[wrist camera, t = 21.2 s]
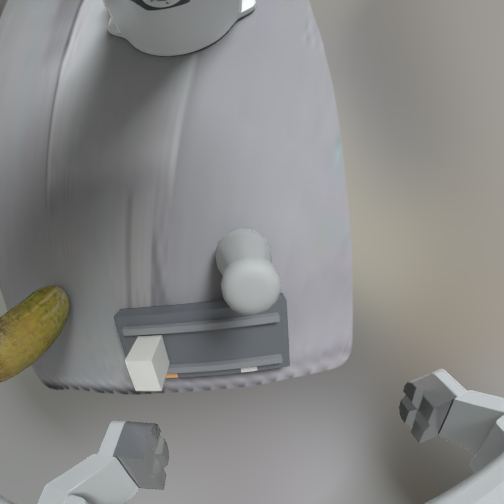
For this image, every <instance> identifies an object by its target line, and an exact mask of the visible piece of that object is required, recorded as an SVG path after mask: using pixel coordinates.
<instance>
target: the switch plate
mask: <svg viewBox="0 0 504 504" xmlns="http://www.w3.org/2000/svg"><path fill="white" fill-rule="evenodd" d="M114 319H115V322H116V326H117V329H118V332H119V336H120V339H121V342H122V345H123V348H124V351H125V354H126V357H127V356H128V354H129V352H130V350H131V348H132V346H133V345H134V343H135V341H136V339H137V337H138V336H152V335H162V337H163V341H164V345H165V348H166V352H167V356H168V359H169V363H170V364H169V367H168V371H167V374H166V378H182V377H199V376H213V375H224V374H234V373H243V372H252V371H260V370H267V369H274V368H281V367H287V366H290V360H289V339H288V320H287V303H286V299H285V297H284V295H283V293H280V294H279V297H278V300H277V302H276V303H275V304H274V305H273V306H272V307H271V308H270V309H269V310H268V311H266V312H263V313H261V314H258V315H242V314H240V313H238V312H236V311H234V310H232V309H231V307H230V306H229V305H228V304H227V302H226V301H225V300H219V301H209V302H199V303H189V304H179V305H167V306H156V307H143V308H129V309H120V310H119V312H118V313H117V314H116V315H115V316H114Z"/></svg>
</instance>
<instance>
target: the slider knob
mask: <svg viewBox="0 0 504 504" xmlns="http://www.w3.org/2000/svg"><path fill="white" fill-rule="evenodd" d="M125 364H126V366H127V369H128V372H129V375H130V377H131V380H132V382H133V385H134V387H135V390H136V391H162V388H163V385H164V381H165V378H166V374H167V371H168V367H169V364H170V363H169V359H168V356H167V352H166V348H165V345H164V341H163V337H162V335H152V336H138V337H137V339H136V341H135V343H134V345H133V346H132V348H131V350H130V352H129V354H128V356H127V358H126V359H125Z"/></svg>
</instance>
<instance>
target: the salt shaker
mask: <svg viewBox="0 0 504 504" xmlns="http://www.w3.org/2000/svg"><path fill="white" fill-rule="evenodd" d="M215 257H216V263H217V267H218V269H219V271H220V272H221V274H222V275H223V278H222V282H221V289H222V294H223V298H224V300H225V301H226V302H227V304H228V305H229V306H230V307H231V309H232V310H234V311H236V312H238V313H240V314H242V315H258V314H261V313H263V312H266V311H268V310H269V309H270V308H271V307H272V306H273V305H274V304H275V303H276V302H277V300H278V297H279V294H280V291H281V284H280V277H279V274H278V272H277V271H276V269H275V268H274V266H273V265H272V263H271V262H272V256H271V249H270V245H269V243H268V242H267V241H266V239H265V238H264V236H263V235H261V234H260V233H258V232H256V231H254V230H252V229H240V228H239V229H236V230H234V231H232V232H229V233H227V234H226V235H225V236H224V237H223V238H222V240H221V241H220V242H219V243H218V246H217V250H216V254H215Z"/></svg>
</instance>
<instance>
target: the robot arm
mask: <svg viewBox="0 0 504 504" xmlns="http://www.w3.org/2000/svg"><path fill="white" fill-rule="evenodd" d="M103 3H104V4H105V6H106V8H107V10H108V12H109V14H110V16H111V17H110V19H109V22H108V25H107V29H108V31H109V33H111V34H112V35H115V36H119V37H124V38H125V39H127V40H128V41H129V42H130V43H131V44H132V45H133V46H134V47H135V48H137V49H138V50H140V51H142V52H145V53H148V54H152V55H158V56H174V55H182V54H186V53H190V52H194V51H197V50H199V49H202V48H204V47H206V46H208V45H210V44H212V43H214V42H215V41H217V40H218V39H219V38H221V37H222V36H223V35H224V34H225V33H226V32H227V31H228V30H229V29H230V28H231V27H232V25H233V24H234V23H235V22H236V21H237V20H238V19H239V18H241V17H243V16H245V15H247V14H249V13H250V12H252V11H253V10H254V9H255V7H256V2H255V0H103ZM403 391H404V393H405V394H406V395H405V396H404V397H403V398H402V400H401V402H400V406H399V410H400V416H401V418H402V420H403V422H404V423H405V424H407V425H409V426H411V433H412V434H413V436H414V437H415V439H416V440H417V442H418V443H422V442H423V441H426V440H428V439H430V438H432V437H435V436H437V435H438V436H439V437H441V438H443V439H445V440H448V441H450V442H452V443H454V444H456V445H458V446H460V447H463V448H465V449H467V450H469V451H472V452H474V453H476V455H475V457H474V458H473V459H472V461H471V462H470V465H469V466H470V468H471V469H472V470H473V472H474V474H473V475H472V476H470V477H469V478H467V479H466V480H464V481H463V482H461V483H459V484H458V485H456V486H455V487H453V488H451V489H450V490H448V491H446V492H445V493H443V494H441V495H439V496H438V497H436V498H434V499H432V500H430V501H428V502H426V503H425V504H504V398H502V397H497V396H492V395H489V394H484V393H480V392H476V391H472V390H470V391H467V390H466V389H464V388H463V387H462V386H461V385H460V384H459V383H458V382H457V381H456V380H455V379H454V378H453V377H451V375H449V374H448V373H447V372H446V371H445V370H443V369H439V370H437V371H434V372H432V373H430V374H427V375H425V376H422V377H420V378H417V379H415V380H412V381H409V382H407V384H406V385H405V387H404V390H403ZM160 432H161V431H160V428H159V426H158V424H155V423H141V422H129V421H117V420H113V421H112V422H111V423H110V425H109V427H108V429H107V432H106V434H105V437H104V439H103V441H102V444H101V446H100V449H99V451H98V454H92V455H91V456H90V457H88V458H87V459H85V460H84V461H82V462H81V463H79V464H78V465H76V466H75V467H73V468H71V469H70V470H69V471H67V472H65V473H64V474H62V475H61V476H59V477H57V478H56V479H54V480H53V481H51V482H50V483H48V484H46V486H45V488H44V490H43V492H42V494H41V497H40V499H39V501H38V503H37V504H126V503H127V502H128V501H129V500H130V499H131V498H132V496H134V494H135V493H136V492H137V491H138V490H139V488H145V489H159V490H163V489H164V485H165V478H166V473H165V472H164V470H163V468H164V467H165V466H166V465H168V460H169V454H168V453H169V452H168V447H167V443H166V441H165V439H164V438H162V437H161V436H160ZM0 504H16V503H14V502H12V501H10V500H8V499H6V498H5V497H3V496H1V495H0Z"/></svg>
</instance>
